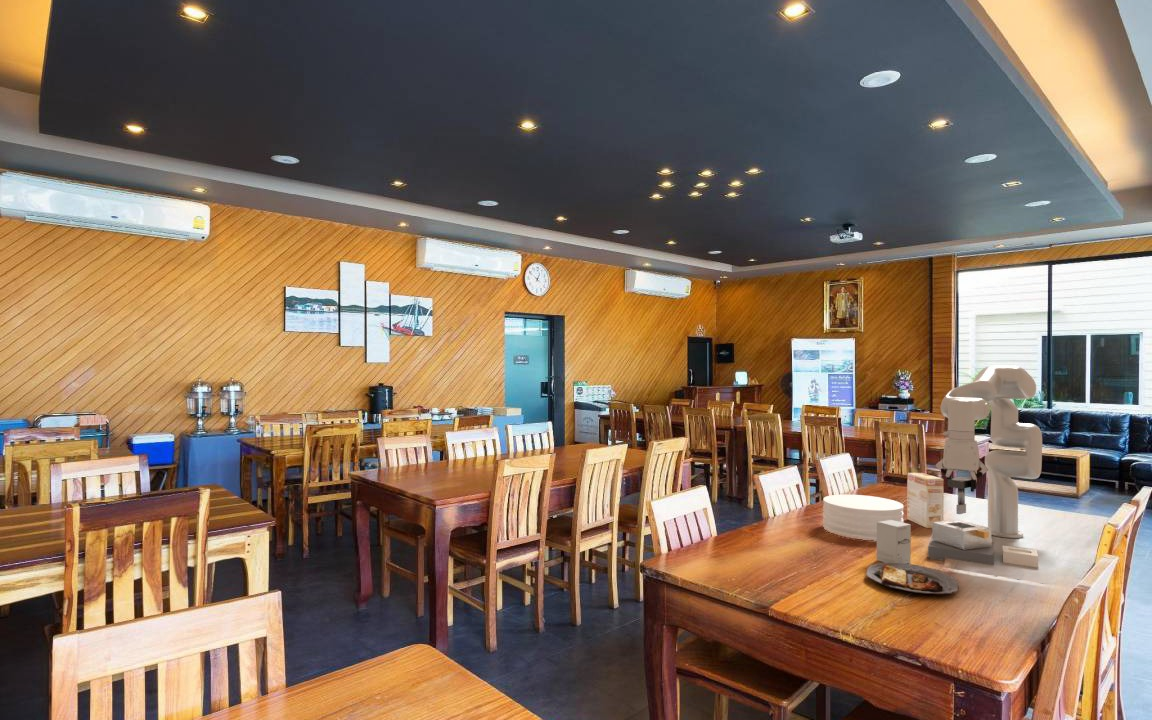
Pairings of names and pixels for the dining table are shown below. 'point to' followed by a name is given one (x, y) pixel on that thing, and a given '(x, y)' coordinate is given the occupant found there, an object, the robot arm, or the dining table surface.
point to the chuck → (961, 534)
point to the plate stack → (859, 514)
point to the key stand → (1020, 556)
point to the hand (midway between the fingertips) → (961, 489)
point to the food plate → (912, 578)
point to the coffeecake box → (925, 499)
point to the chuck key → (960, 491)
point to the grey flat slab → (961, 553)
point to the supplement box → (893, 542)
